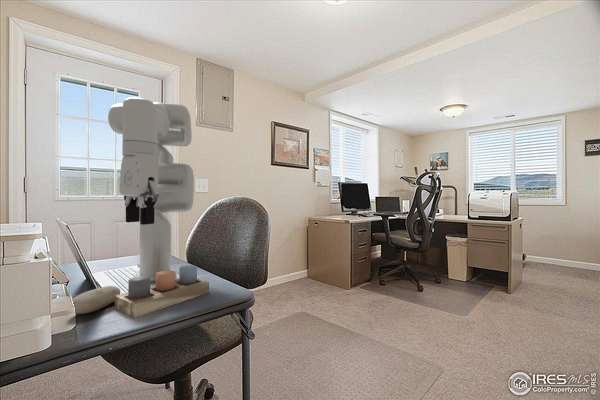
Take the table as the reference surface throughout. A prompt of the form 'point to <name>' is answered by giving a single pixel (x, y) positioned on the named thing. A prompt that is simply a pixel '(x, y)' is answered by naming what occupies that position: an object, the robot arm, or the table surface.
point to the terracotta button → (165, 280)
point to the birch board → (160, 298)
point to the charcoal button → (139, 287)
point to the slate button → (188, 274)
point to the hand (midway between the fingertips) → (139, 222)
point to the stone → (95, 299)
